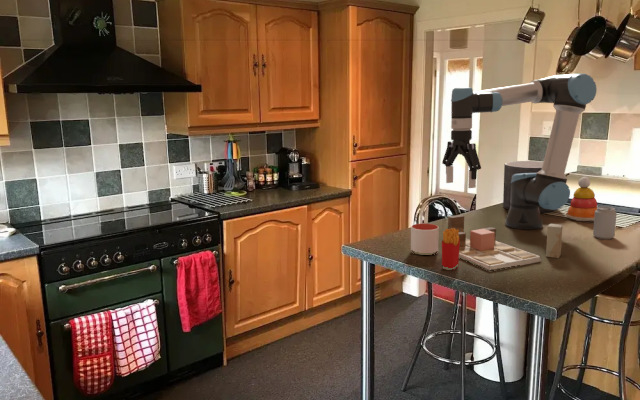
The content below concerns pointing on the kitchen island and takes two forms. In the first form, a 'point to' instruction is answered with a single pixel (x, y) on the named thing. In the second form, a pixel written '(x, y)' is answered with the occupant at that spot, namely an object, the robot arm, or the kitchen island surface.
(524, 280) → the kitchen island surface
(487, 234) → the cube
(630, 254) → the kitchen island surface
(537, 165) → the planter
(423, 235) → the cup
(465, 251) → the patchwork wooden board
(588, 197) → the stacking toy
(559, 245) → the box
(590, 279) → the kitchen island surface
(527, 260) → the lane board
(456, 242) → the french fries
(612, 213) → the can
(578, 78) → the robot arm
